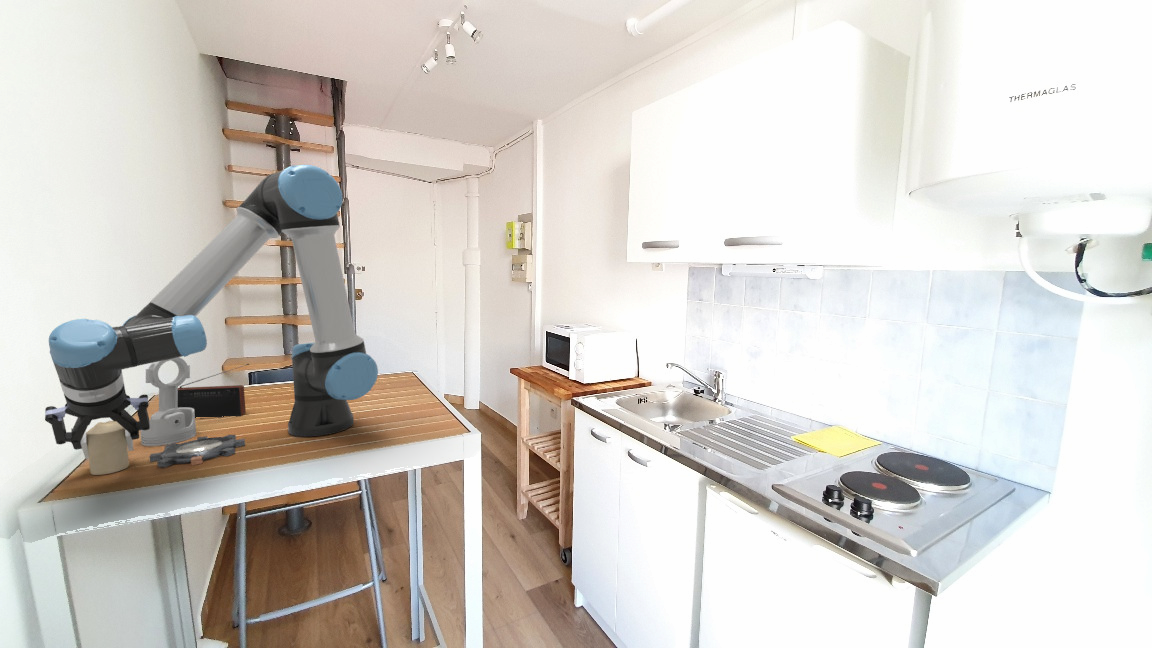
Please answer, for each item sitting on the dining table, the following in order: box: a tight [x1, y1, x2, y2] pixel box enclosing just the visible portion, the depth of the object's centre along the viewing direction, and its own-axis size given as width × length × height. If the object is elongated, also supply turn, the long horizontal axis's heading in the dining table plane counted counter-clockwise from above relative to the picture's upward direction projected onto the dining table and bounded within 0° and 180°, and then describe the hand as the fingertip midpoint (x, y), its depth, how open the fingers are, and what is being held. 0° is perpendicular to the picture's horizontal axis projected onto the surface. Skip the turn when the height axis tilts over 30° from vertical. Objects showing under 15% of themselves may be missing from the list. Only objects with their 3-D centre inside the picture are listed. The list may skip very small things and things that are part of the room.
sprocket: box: [149, 434, 246, 468], centre depth 101 cm, size 16×16×1 cm
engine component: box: [139, 357, 197, 447], centre depth 109 cm, size 11×20×10 cm
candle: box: [86, 420, 130, 476], centre depth 91 cm, size 6×6×10 cm
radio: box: [178, 363, 250, 418], centre depth 126 cm, size 19×3×15 cm, turn 103°
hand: (109, 448), depth 94 cm, fingers closed on candle, 5 cm apart
